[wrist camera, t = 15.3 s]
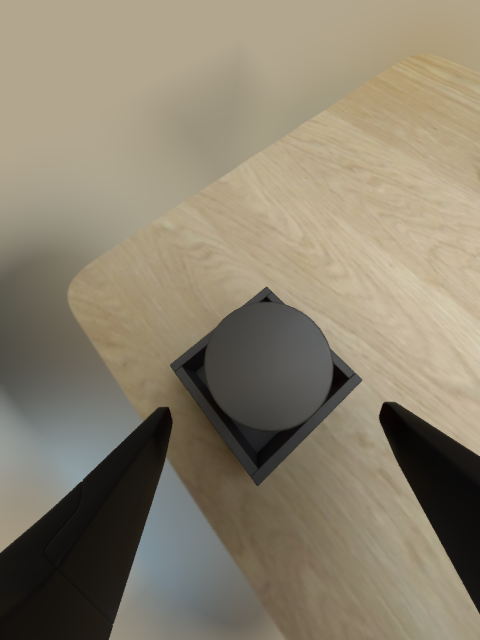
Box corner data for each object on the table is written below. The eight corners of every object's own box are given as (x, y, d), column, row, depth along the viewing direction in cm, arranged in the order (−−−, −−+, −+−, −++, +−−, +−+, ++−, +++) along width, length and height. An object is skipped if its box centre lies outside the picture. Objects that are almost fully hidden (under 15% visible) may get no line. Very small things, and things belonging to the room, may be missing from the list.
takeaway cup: (308, 361, 21) (353, 334, 12) (278, 430, 19) (301, 462, 10) (246, 330, 23) (241, 283, 13) (212, 391, 21) (179, 387, 11)
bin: (337, 383, 21) (363, 379, 16) (256, 464, 19) (257, 487, 14) (264, 308, 24) (266, 285, 19) (187, 371, 22) (169, 365, 17)
